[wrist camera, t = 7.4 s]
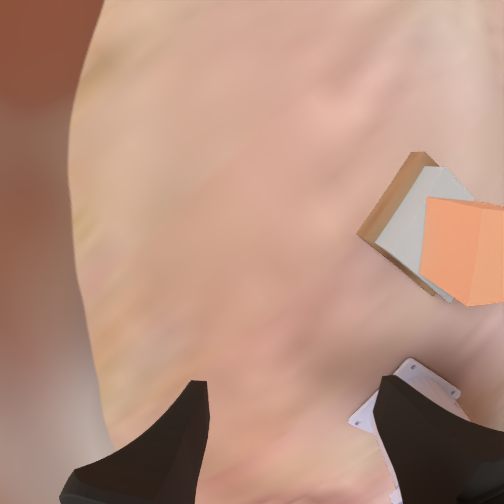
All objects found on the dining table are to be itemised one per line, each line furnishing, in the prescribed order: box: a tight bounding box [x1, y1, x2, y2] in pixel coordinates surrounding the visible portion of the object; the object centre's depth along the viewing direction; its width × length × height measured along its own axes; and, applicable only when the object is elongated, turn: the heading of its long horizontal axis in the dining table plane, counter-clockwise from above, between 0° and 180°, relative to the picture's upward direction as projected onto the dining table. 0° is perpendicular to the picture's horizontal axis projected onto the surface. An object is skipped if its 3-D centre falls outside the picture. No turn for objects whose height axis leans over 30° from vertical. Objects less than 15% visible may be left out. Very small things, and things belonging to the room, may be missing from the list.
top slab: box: [375, 166, 476, 304], centre depth 17 cm, size 6×6×2 cm
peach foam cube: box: [419, 197, 504, 307], centre depth 14 cm, size 4×4×5 cm
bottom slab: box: [356, 152, 439, 296], centre depth 20 cm, size 7×7×2 cm
